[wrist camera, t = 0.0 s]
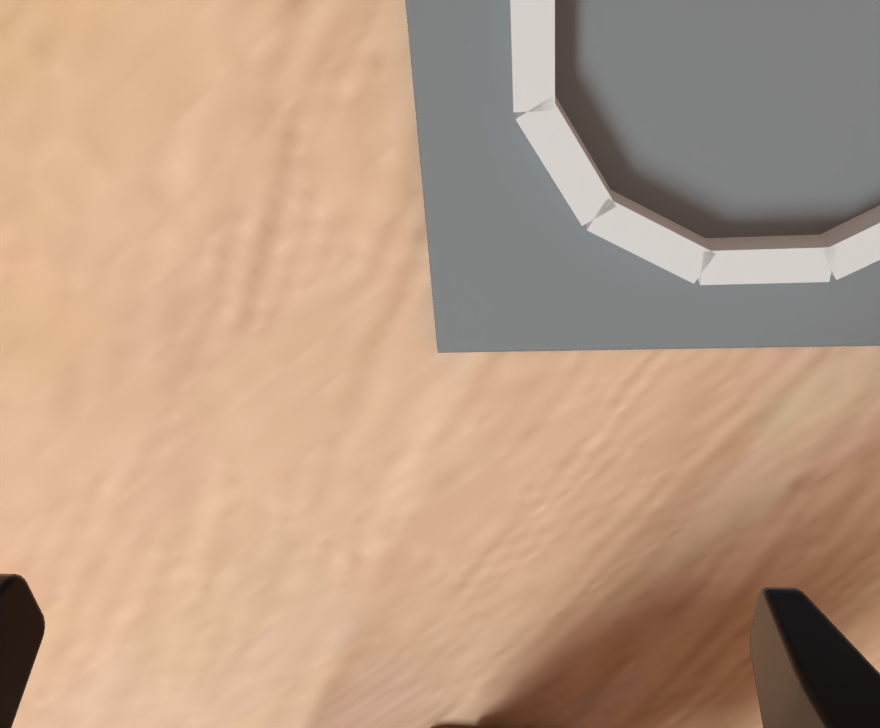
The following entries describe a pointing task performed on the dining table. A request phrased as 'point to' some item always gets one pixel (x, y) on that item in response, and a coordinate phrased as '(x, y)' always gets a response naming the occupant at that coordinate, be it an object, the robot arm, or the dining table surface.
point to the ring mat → (649, 172)
